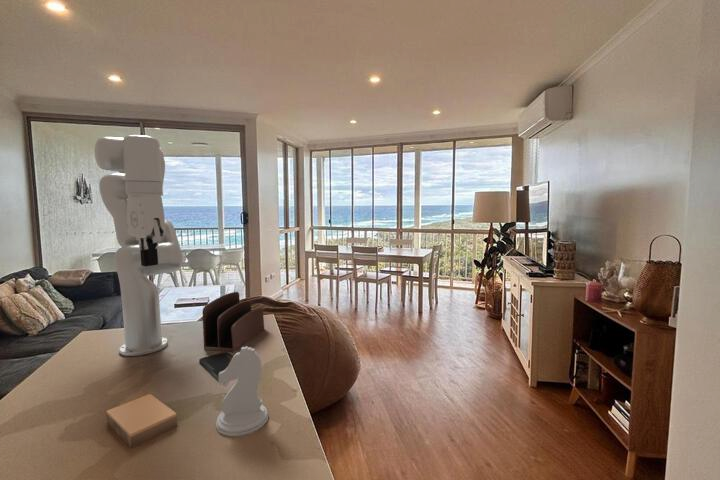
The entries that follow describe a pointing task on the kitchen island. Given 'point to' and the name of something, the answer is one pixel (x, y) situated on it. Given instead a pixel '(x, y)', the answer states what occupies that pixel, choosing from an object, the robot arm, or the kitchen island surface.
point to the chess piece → (242, 395)
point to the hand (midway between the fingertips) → (149, 265)
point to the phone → (216, 363)
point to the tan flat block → (141, 419)
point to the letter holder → (230, 323)
